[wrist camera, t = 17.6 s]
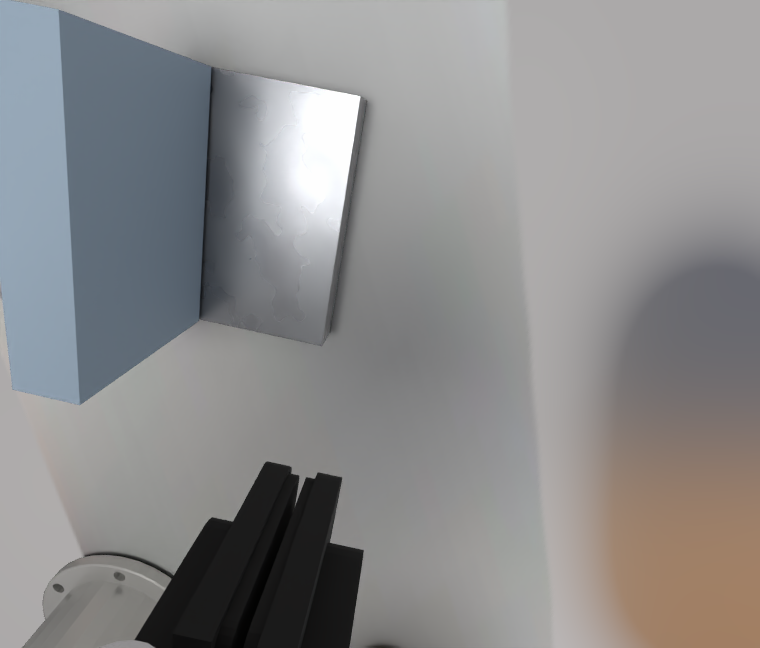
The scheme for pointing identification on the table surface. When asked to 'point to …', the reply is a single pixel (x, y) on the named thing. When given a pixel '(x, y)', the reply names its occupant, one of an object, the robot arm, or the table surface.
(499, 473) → the table surface
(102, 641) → the robot arm
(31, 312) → the vise jaw
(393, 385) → the table surface
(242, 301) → the vise base
